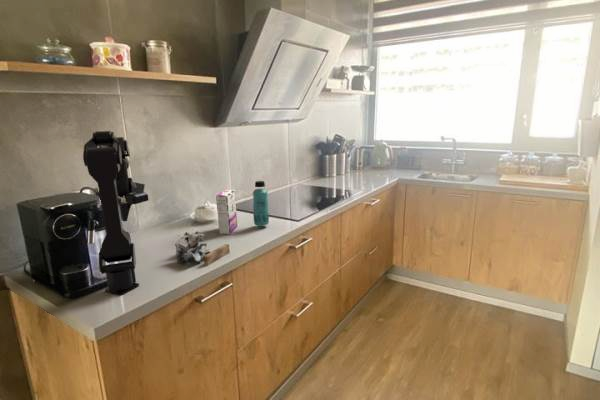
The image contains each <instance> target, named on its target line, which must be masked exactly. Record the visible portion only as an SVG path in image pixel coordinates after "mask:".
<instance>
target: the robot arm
mask: <svg viewBox="0 0 600 400" xmlns="http://www.w3.org/2000/svg"><path fill="white" fill-rule="evenodd" d="M128 145H129V144H128V141H127V139H126V140H125V137H123V136H119V137H118V136H116V135H115V133H114V131H111V130H103V131H98V130H97V131H95V132H92V138H90V139H89V140H88V141H87V142H86V143H85V144H84V146H83V153H82V158H83V159H82V161H83V164H84V166H85V167H87V172H88V175H90V177H91V178H92V179H93V180H94V181H95V182H96V183H97V188H98V191H96V193H95V194H96V195H98V196H99V197H100V200H101V201H100V205H101V210H102V217H103V223H104V229H105V236H104V237H103V241H102V243H101V246H100V250H99V252H98V271H99V272H100V274H102V275H104V274H105V275H106V281H107V288H105V289H104V292H107V293H109V294H110V293H111V294H114V295H118V296H122V295H124V294H126V293H128V292H129V291H132V290H133V289H136V288H137V287H138V286H140V283H137V279H136V273H135V269H136V267H137V266H136V265H137V259H136V247H135V243H134V242H132V238H131V234H130V233H129V231H126V230H125V229H124V228H123V227H124V225H123V222H127V221H128V218H129V214H130V211H131V207H132V205H137V204H141V203H144V202H148V201H150V200H149V194H148V193H147V192H145V186H146V184H144V183H140V182H136V181H135V182H134V181H133V178H132V177H129V173H128V169H129V167H130V160H129V159H128V157H131V154H130V150H129V146H128ZM116 262H117V263H116ZM110 263H111V264H110Z"/></svg>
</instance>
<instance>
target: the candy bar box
mask: <svg viewBox="0 0 600 400" xmlns="http://www.w3.org/2000/svg"><path fill="white" fill-rule="evenodd" d="M235 191H236V190H235V189H223V190H222V191H221V192H219V193H218V194H217V195H216V196H215V200H216V210H217V221H218V233H219V235H231V234H232V233H233V232H234V231H235V230H236V228H237V227H238V218H237V217H238V216H237V204H236V194H235Z"/></svg>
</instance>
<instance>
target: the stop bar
mask: <svg viewBox="0 0 600 400" xmlns="http://www.w3.org/2000/svg"><path fill="white" fill-rule="evenodd" d="M209 252H210V253H208V254H207V255H205V256H203V259H204V262H203V266H210V265H212V264H213V263H215V262H216V261H218V260H219V259H221V258H223V257H225V256H227V255H228V254H230V244H229V243H225V244H223V245H221V246H219V247H217V248H216V249H214V250H212V251H209Z"/></svg>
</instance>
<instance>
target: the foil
mask: <svg viewBox="0 0 600 400" xmlns="http://www.w3.org/2000/svg"><path fill="white" fill-rule="evenodd" d="M205 235H206V234H204V233H201V232H198V231H197V230H196V231H195V233H192V234H191V233H189V232H188V231H186V232H185V233H184V234H183V236H182V237H180V236H181V235H178V237H180V238H179V240H178V241H176V243H174V245H175V255H176V259H177V264H178V265H182V263H183V261H187V262H189V259H190V258H191V259H192V258H194V261H195V262H196V263H197V264H202V263H204V259H203V256H205V255H207V254H208V253H210V252H211V251H209V250H210V249H207V245H208V242H206V243H203V242H204V241H205ZM183 239H184V241H186V243H187V245H186V246H185V245H182V244H180V243H179V242H180V241H181V240H183ZM201 242H202V243H201Z"/></svg>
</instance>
